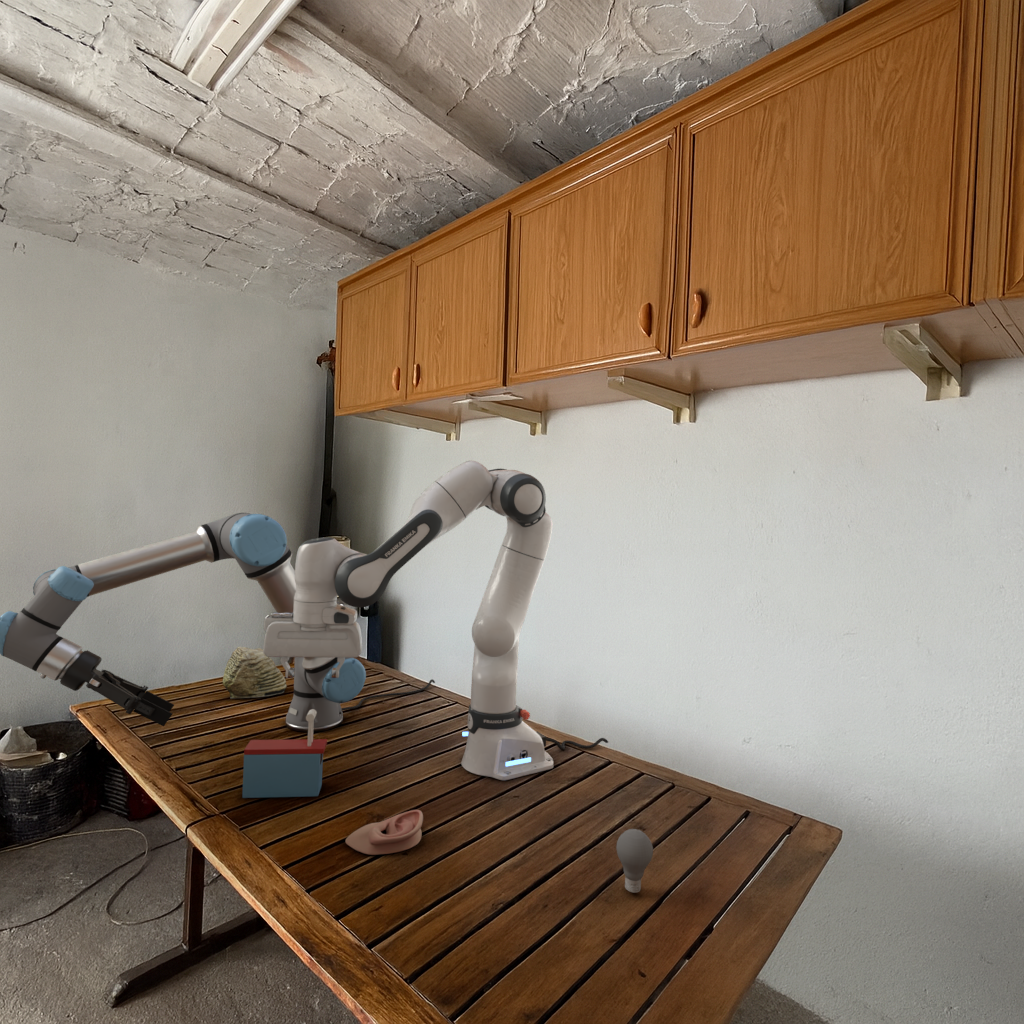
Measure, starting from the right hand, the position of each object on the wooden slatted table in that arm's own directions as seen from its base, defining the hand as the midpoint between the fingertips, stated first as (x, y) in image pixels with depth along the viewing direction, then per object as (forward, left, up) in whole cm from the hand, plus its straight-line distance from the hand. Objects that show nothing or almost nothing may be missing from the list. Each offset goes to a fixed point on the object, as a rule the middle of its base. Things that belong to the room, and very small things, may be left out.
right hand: (312, 677), depth 136 cm
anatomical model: (-12, +24, -25) cm, 37 cm away
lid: (+5, -1, -16) cm, 16 cm away
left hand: (+28, -9, -9) cm, 31 cm away
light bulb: (-47, +53, -25) cm, 75 cm away
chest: (+5, -1, -25) cm, 25 cm away
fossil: (+10, -71, -25) cm, 76 cm away
